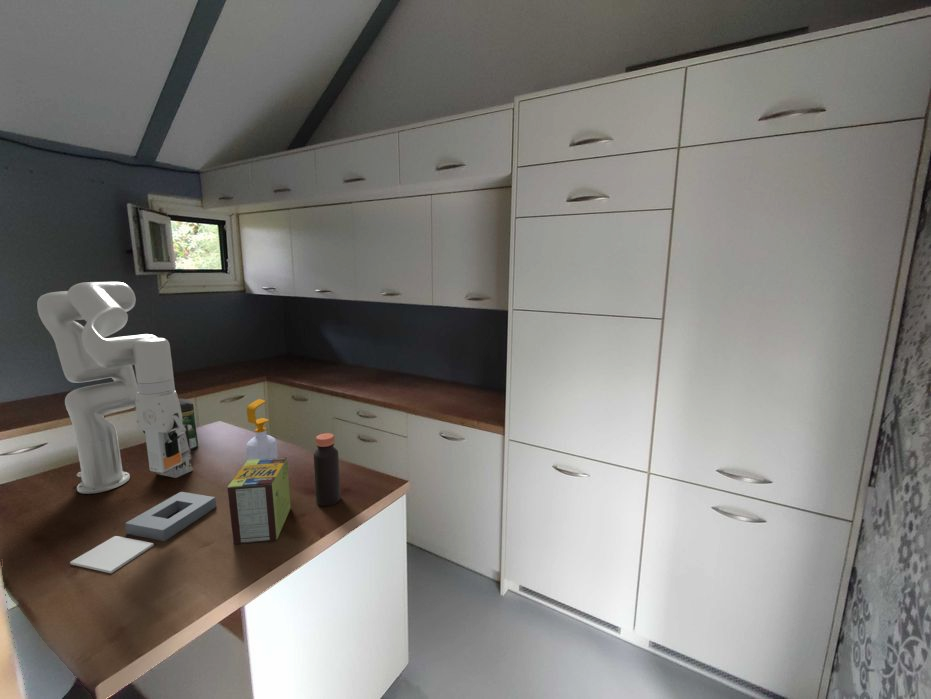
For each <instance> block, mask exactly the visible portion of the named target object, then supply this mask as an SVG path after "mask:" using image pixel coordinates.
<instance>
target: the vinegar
mask: <svg viewBox="0 0 931 699" xmlns="http://www.w3.org/2000/svg"><path fill="white" fill-rule="evenodd" d="M315 441H316V447H317V448H316V450H315V451H314V453H313V465H314V466H313V469H314V484H315V496H316V497H315V500H316V504H317V505H319V506H321V507H330V506H333V505H336V504H337V503H339V502H340V500H341V483H340V482H341V481H340V463H339V462H340V461H339V460H340V459H339V450H338V449H337V448H336V447H334V445H335V435H334V434H333V433H329V432H326V433H322V434H318V435H316V436H315Z"/></svg>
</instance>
